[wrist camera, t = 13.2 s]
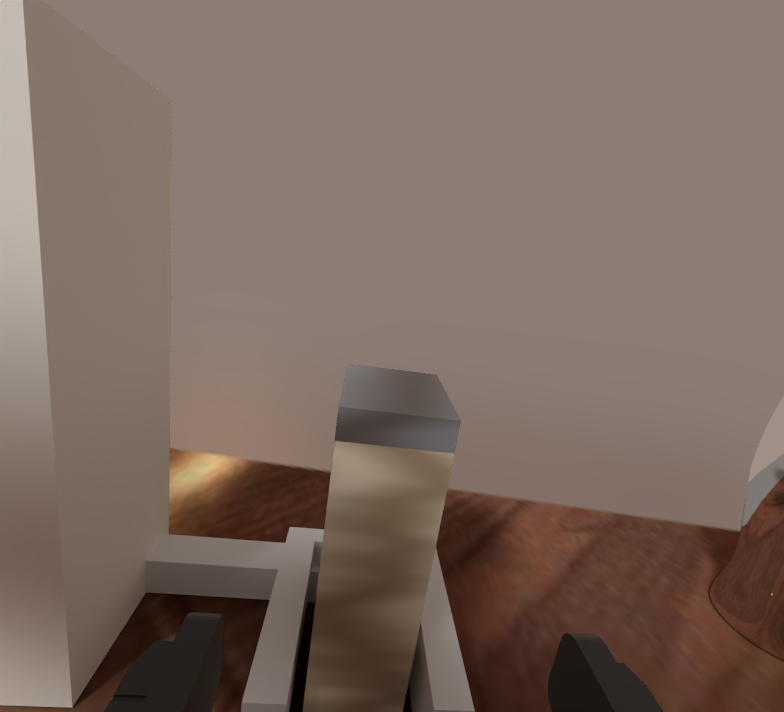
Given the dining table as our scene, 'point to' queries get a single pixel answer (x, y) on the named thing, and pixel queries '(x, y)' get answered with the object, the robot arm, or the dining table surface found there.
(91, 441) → the white socket stand
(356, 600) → the rail end
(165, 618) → the dining table surface
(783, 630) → the beer glass
